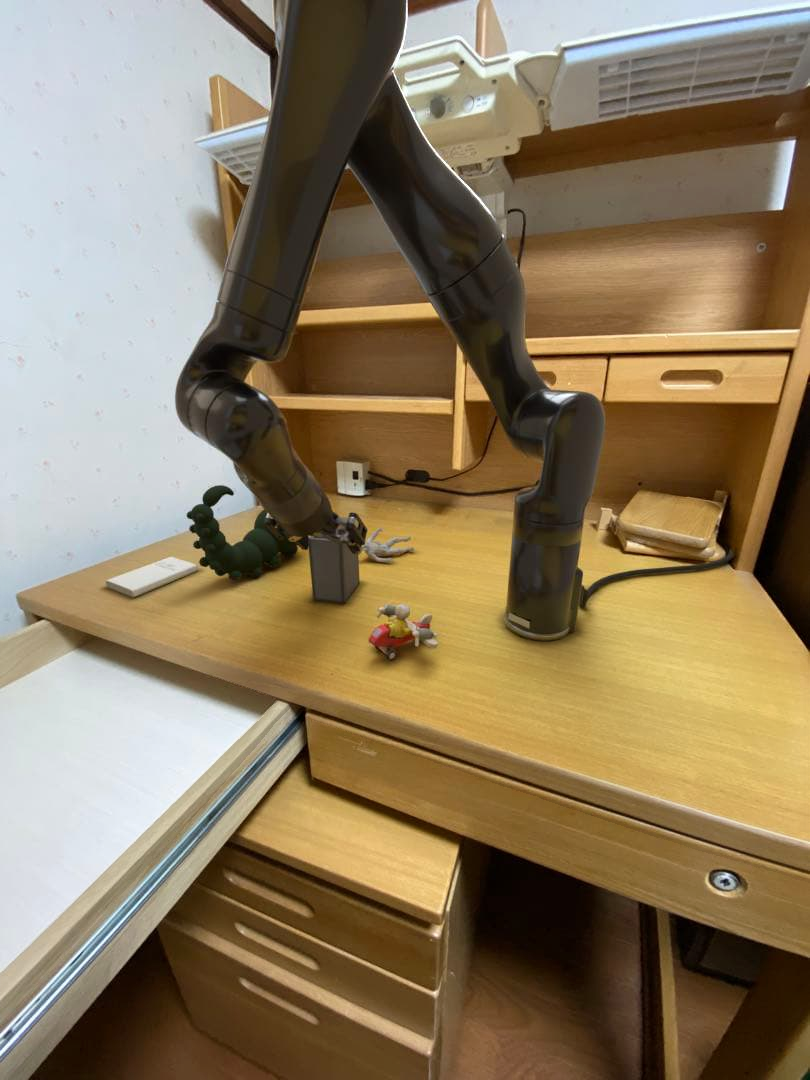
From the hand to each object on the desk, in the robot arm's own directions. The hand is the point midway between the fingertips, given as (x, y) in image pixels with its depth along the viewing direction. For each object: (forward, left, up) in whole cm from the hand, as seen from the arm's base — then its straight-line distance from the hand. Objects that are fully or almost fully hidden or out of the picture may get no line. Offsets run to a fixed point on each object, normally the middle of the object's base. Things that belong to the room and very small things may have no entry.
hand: (331, 546), depth 74 cm
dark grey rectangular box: (-2, -5, -3) cm, 6 cm away
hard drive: (+33, -13, -9) cm, 36 cm away
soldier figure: (-10, -16, -9) cm, 21 cm away
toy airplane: (-9, +16, -9) cm, 21 cm away
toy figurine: (+14, -15, -9) cm, 22 cm away
